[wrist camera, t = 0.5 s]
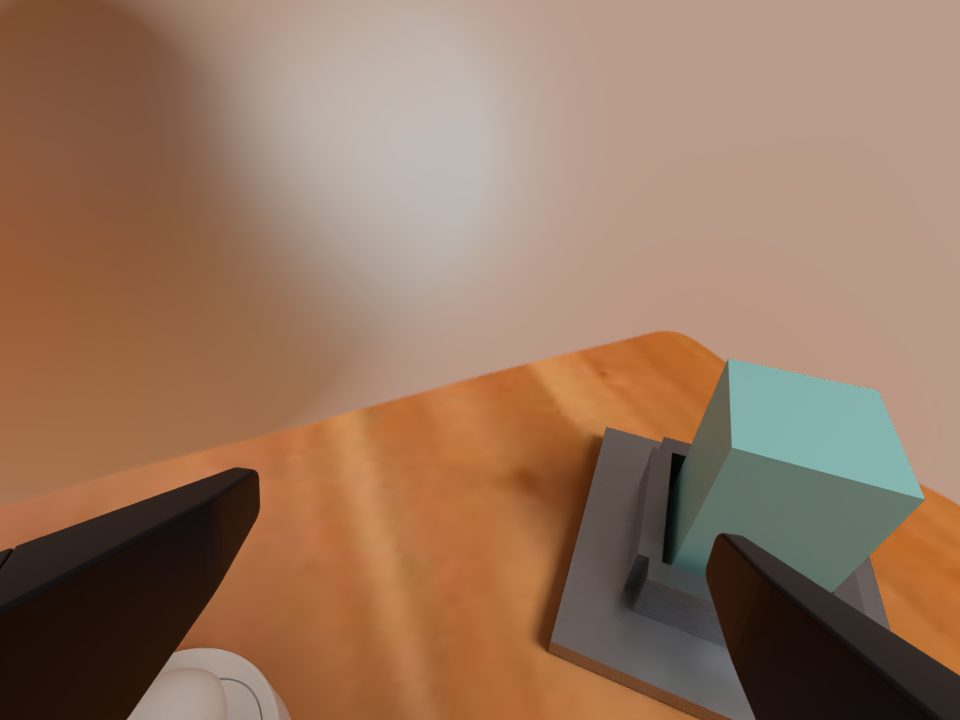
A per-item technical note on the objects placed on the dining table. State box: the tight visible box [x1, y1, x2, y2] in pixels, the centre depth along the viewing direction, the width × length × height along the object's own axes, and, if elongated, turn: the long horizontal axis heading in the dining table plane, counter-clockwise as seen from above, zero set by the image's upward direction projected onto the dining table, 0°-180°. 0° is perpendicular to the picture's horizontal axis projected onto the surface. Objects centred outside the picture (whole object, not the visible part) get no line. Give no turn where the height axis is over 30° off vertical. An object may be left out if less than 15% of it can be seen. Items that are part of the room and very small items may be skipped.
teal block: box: [662, 359, 925, 593], centre depth 20 cm, size 6×6×10 cm
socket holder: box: [548, 427, 890, 720], centre depth 23 cm, size 14×14×4 cm
